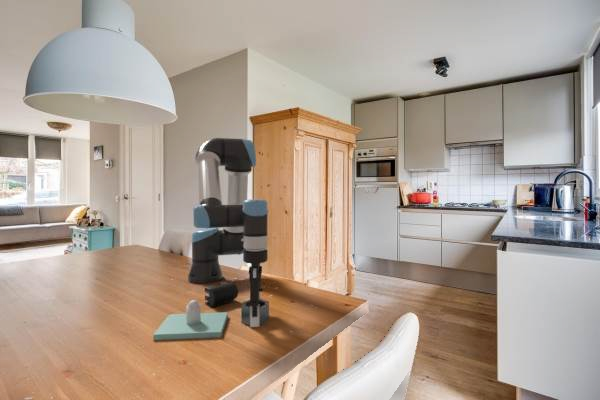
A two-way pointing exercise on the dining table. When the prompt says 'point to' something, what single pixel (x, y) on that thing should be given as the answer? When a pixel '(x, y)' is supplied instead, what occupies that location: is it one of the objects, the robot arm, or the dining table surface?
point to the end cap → (221, 293)
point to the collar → (262, 312)
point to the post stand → (192, 324)
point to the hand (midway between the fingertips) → (255, 318)
